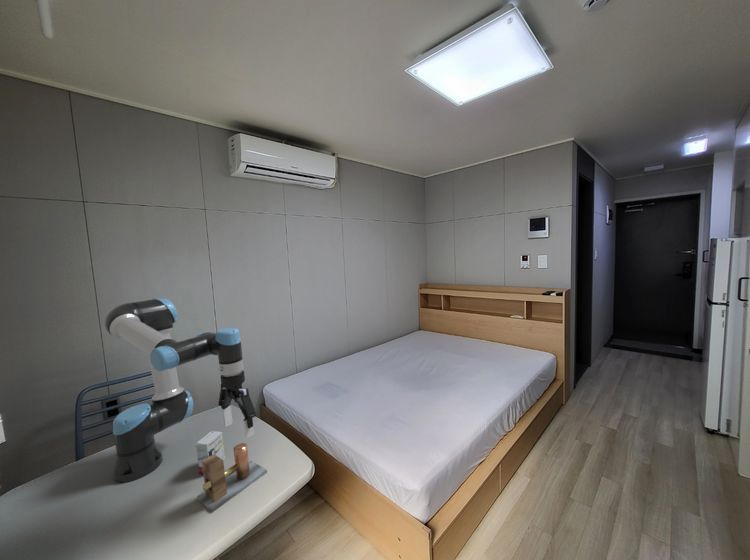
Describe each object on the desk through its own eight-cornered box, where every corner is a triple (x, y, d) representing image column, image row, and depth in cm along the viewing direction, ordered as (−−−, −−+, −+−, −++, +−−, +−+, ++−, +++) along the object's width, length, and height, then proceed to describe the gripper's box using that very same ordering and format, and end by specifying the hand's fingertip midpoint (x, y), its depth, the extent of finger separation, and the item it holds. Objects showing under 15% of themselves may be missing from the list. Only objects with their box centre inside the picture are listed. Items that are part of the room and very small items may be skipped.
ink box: (209, 474, 111) (206, 444, 110) (198, 473, 112) (195, 443, 111) (225, 458, 120) (222, 431, 119) (215, 457, 121) (211, 430, 120)
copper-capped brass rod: (202, 497, 99) (198, 467, 98) (245, 468, 111) (242, 441, 110) (209, 503, 96) (205, 472, 95) (252, 473, 109) (249, 445, 108)
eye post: (197, 498, 100) (192, 462, 99) (251, 462, 116) (248, 431, 115) (212, 512, 94) (207, 473, 93) (267, 472, 111) (263, 439, 110)
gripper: (203, 370, 109) (210, 425, 111) (242, 383, 95) (249, 447, 96) (224, 363, 115) (230, 416, 117) (263, 374, 101) (269, 434, 103)
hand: (238, 430), depth 107 cm, fingers open, 13 cm apart
